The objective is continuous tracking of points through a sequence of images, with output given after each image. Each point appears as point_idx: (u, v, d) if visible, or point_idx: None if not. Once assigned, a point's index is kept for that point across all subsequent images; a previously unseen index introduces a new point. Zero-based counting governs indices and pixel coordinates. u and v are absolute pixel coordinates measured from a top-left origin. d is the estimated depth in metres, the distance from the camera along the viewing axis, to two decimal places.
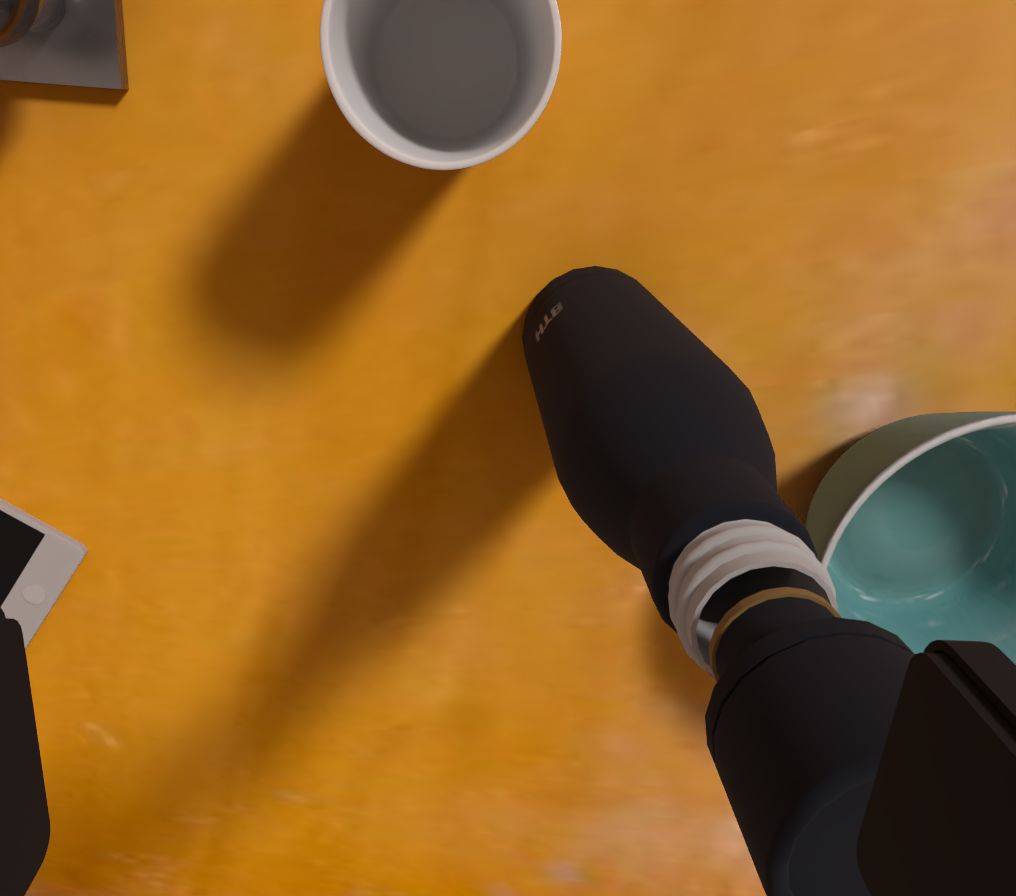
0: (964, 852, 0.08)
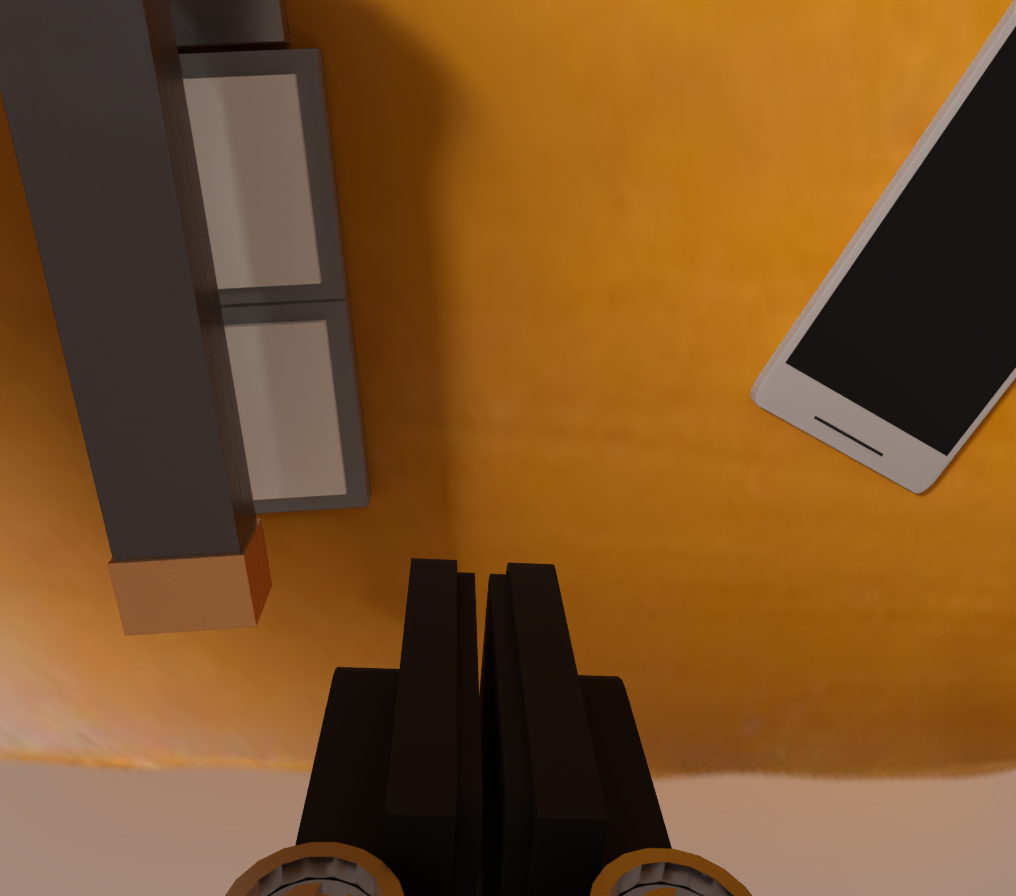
0: (486, 747, 0.09)
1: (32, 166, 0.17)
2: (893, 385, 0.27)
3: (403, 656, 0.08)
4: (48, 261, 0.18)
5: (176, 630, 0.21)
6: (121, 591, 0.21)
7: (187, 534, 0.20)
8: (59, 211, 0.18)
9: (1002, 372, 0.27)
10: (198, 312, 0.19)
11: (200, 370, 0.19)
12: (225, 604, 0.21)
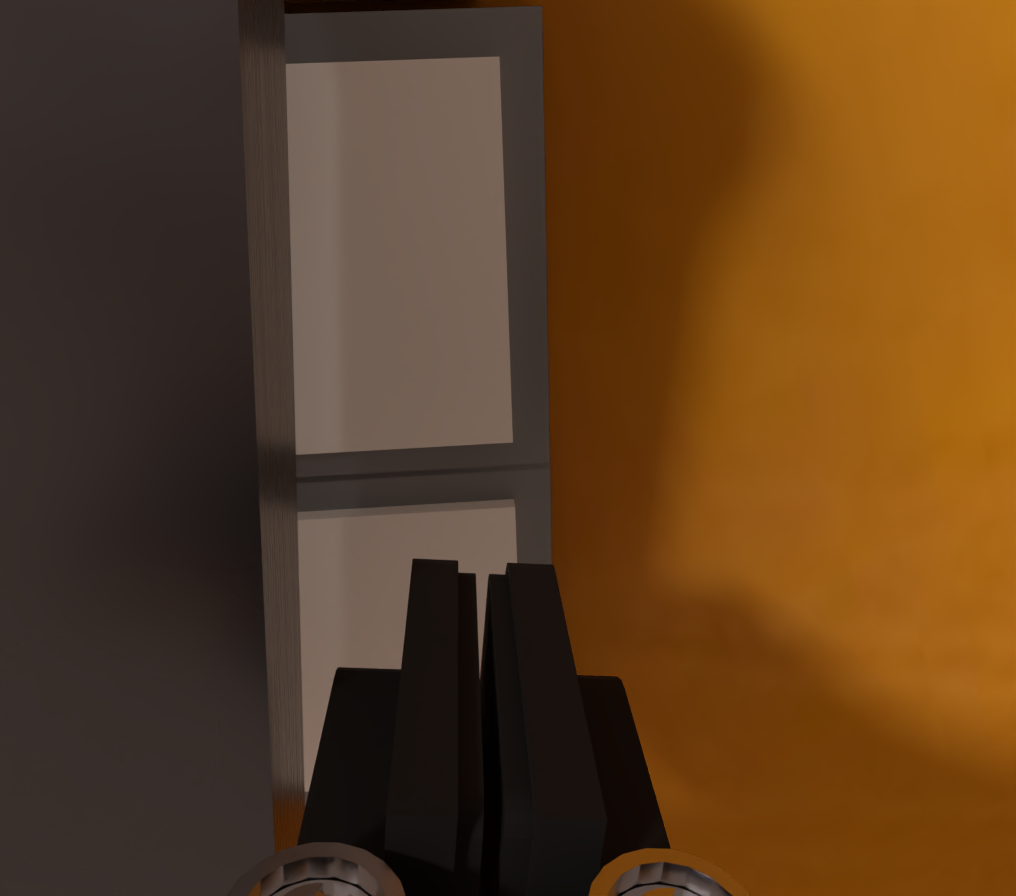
0: (485, 747, 0.09)
1: None
2: None
3: (404, 656, 0.08)
4: None
5: None
6: None
7: None
8: None
9: None
10: (268, 648, 0.08)
11: (254, 769, 0.08)
12: None
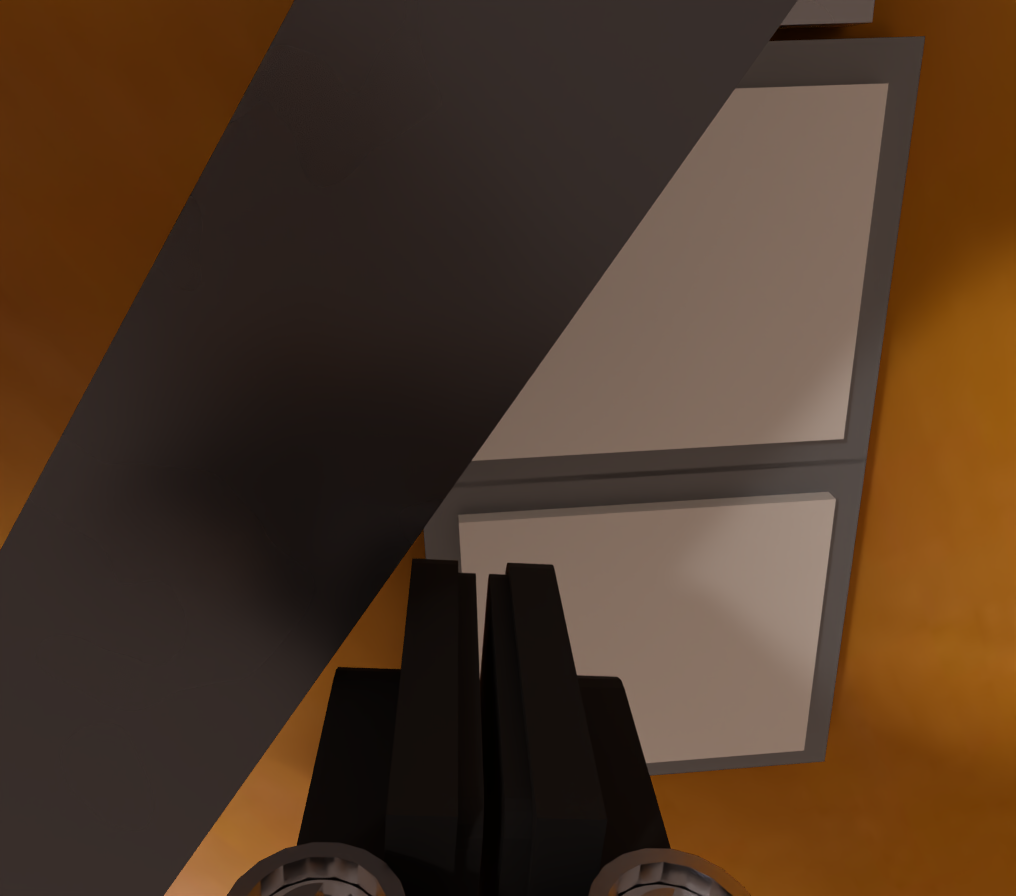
0: (485, 746, 0.09)
1: (286, 98, 0.06)
2: None
3: (404, 656, 0.08)
4: (155, 302, 0.07)
5: None
6: None
7: None
8: (266, 224, 0.07)
9: None
10: (386, 578, 0.08)
11: (300, 674, 0.08)
12: None
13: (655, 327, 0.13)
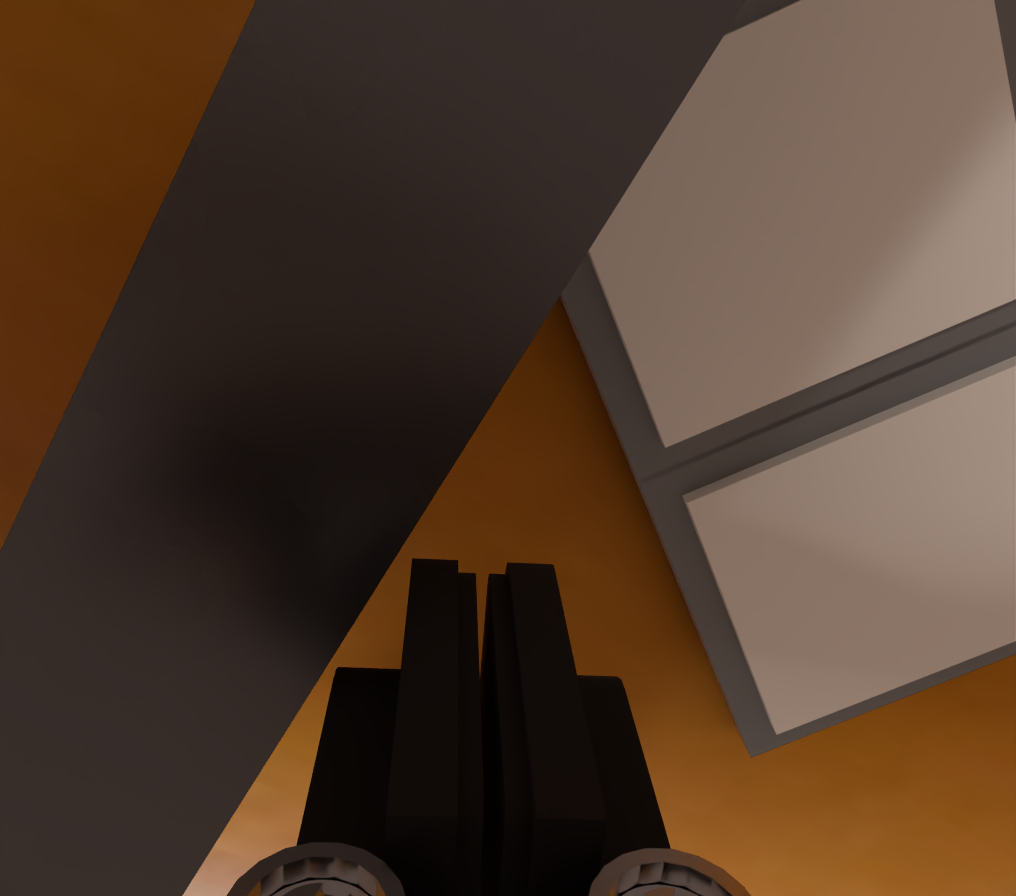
0: (485, 747, 0.09)
1: (284, 33, 0.06)
2: None
3: (404, 656, 0.08)
4: (161, 254, 0.07)
5: None
6: None
7: (60, 884, 0.09)
8: (270, 169, 0.07)
9: None
10: (407, 533, 0.08)
11: (325, 638, 0.08)
12: None
13: (817, 251, 0.13)
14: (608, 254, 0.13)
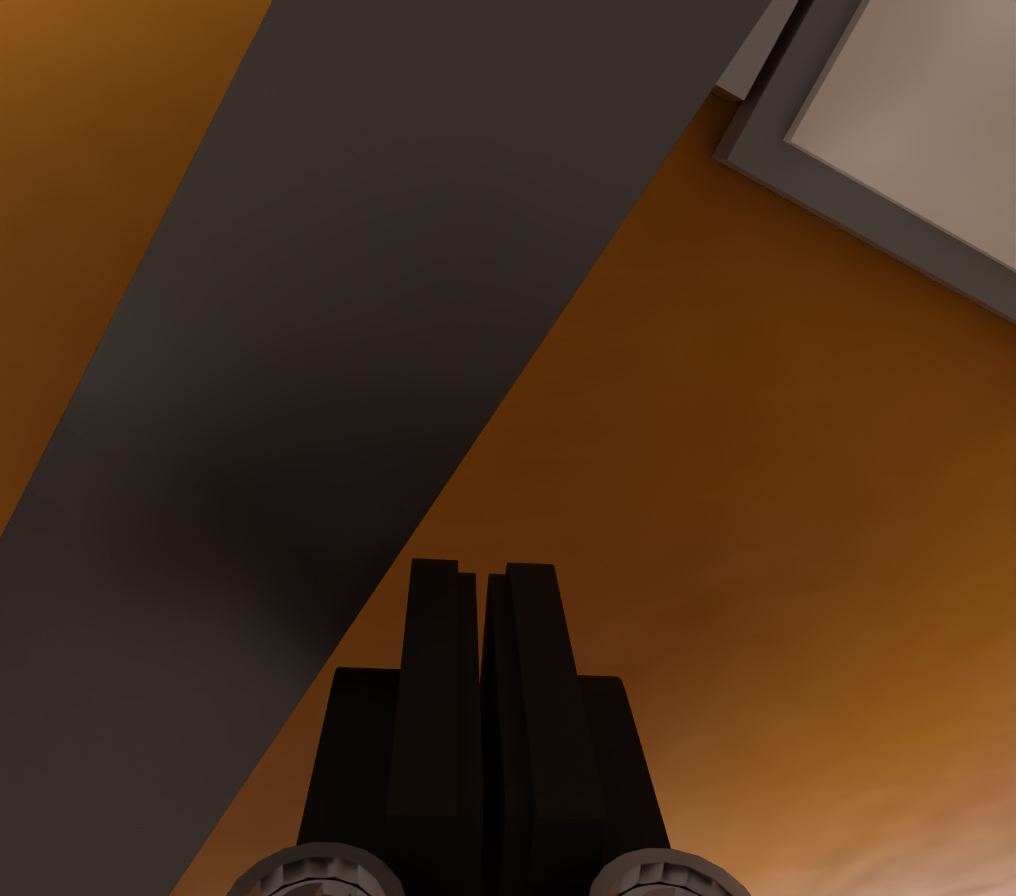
0: (486, 747, 0.09)
1: (279, 74, 0.06)
2: None
3: (403, 656, 0.08)
4: (151, 284, 0.07)
5: None
6: None
7: None
8: (262, 204, 0.07)
9: None
10: (388, 566, 0.08)
11: (303, 666, 0.08)
12: None
13: None
14: (918, 192, 0.13)
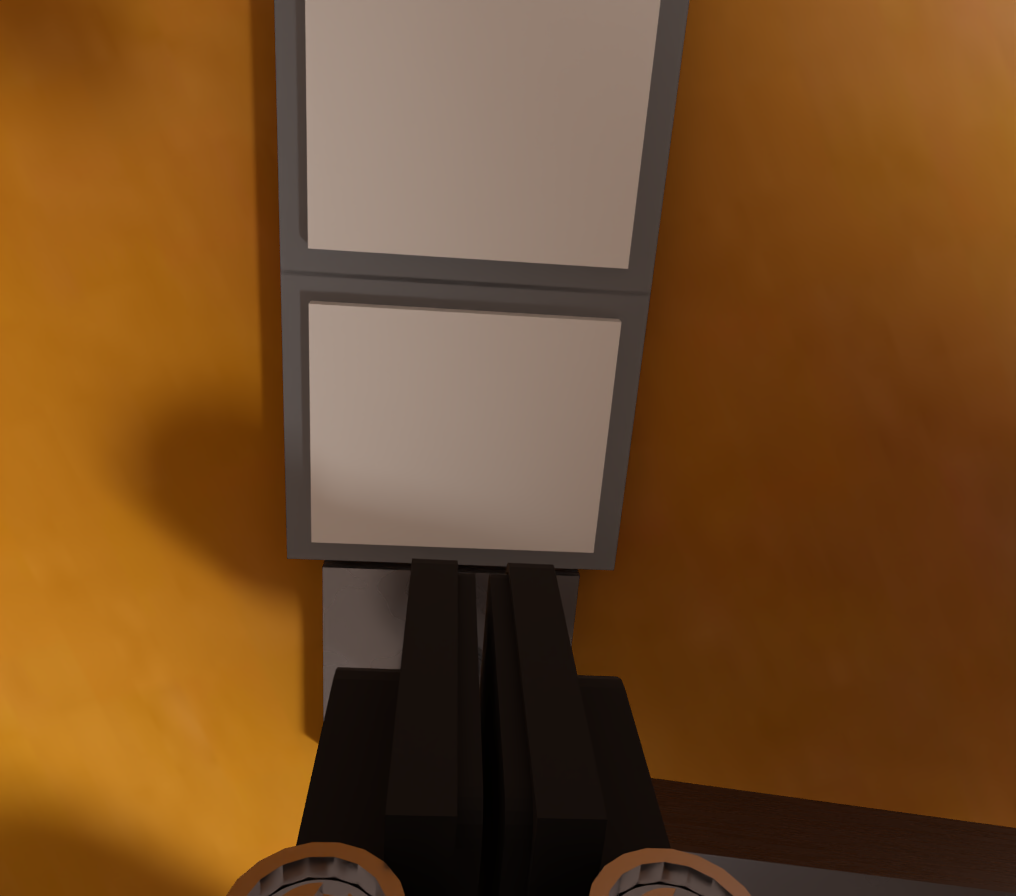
0: (485, 747, 0.09)
1: None
2: None
3: (403, 656, 0.08)
4: None
5: None
6: None
7: None
8: None
9: None
10: (911, 877, 0.16)
11: (971, 894, 0.16)
12: None
13: (462, 407, 0.18)
14: (592, 467, 0.19)
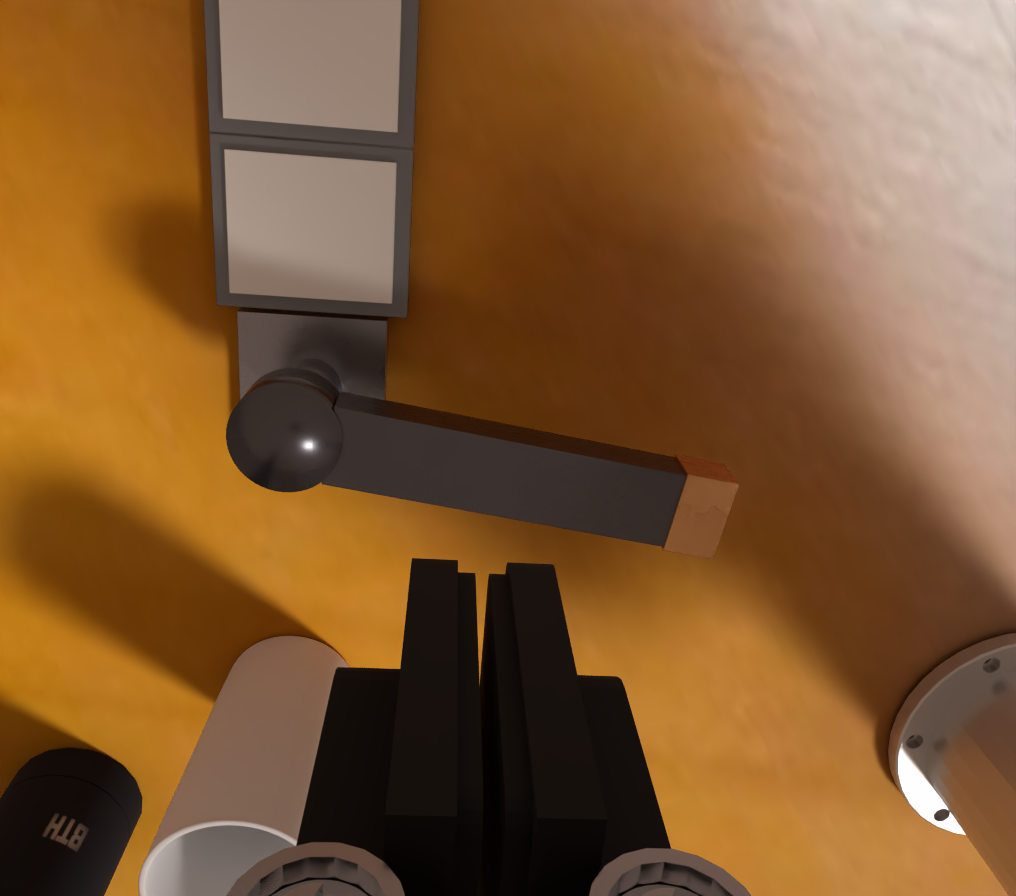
0: (485, 747, 0.09)
1: (432, 497, 0.32)
2: None
3: (403, 656, 0.08)
4: (482, 510, 0.32)
5: (722, 530, 0.33)
6: (683, 549, 0.33)
7: (662, 500, 0.32)
8: (458, 494, 0.32)
9: None
10: (532, 444, 0.31)
11: (566, 456, 0.31)
12: (716, 496, 0.32)
13: (311, 211, 0.33)
14: (387, 250, 0.34)
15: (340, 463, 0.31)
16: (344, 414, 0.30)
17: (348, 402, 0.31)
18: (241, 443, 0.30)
